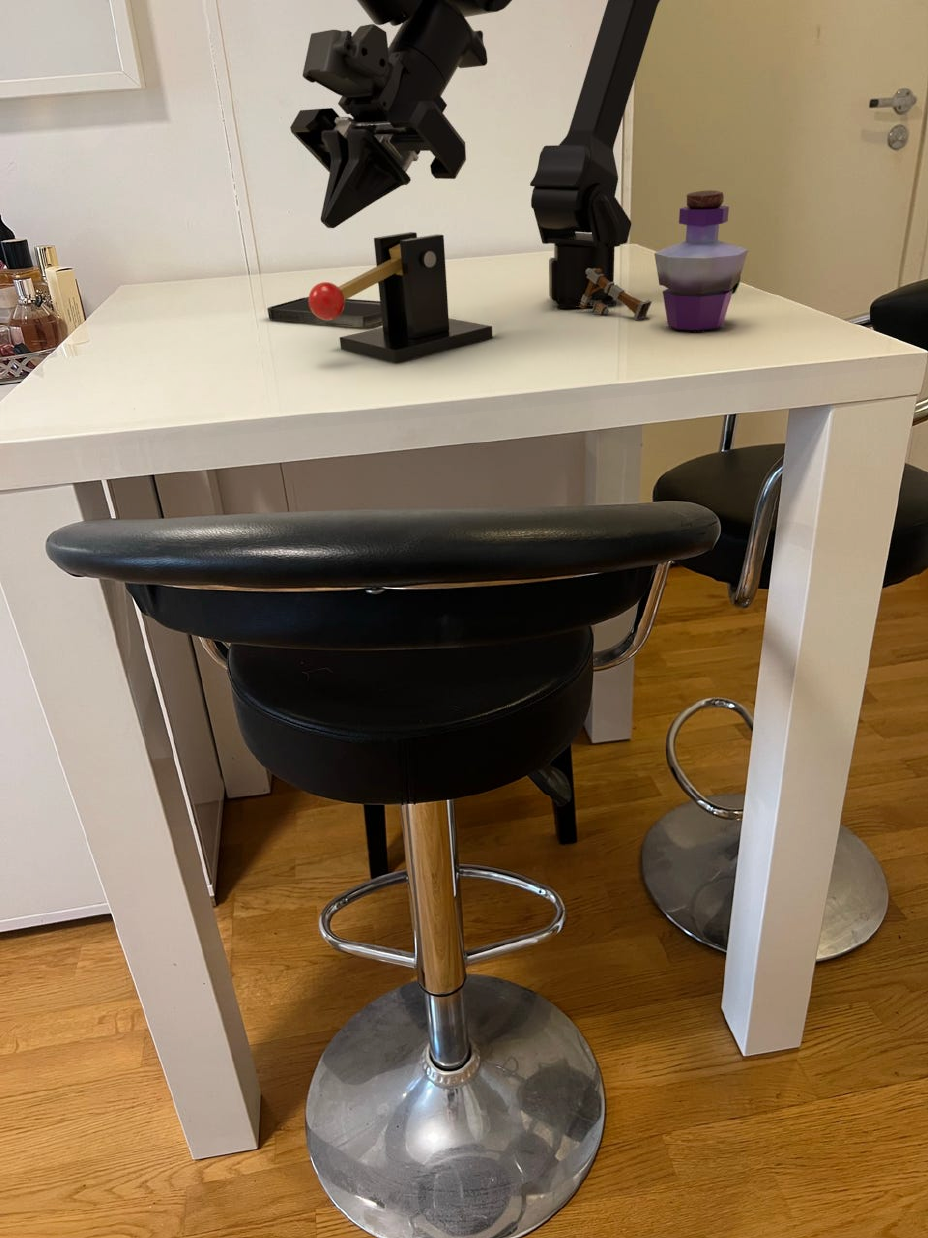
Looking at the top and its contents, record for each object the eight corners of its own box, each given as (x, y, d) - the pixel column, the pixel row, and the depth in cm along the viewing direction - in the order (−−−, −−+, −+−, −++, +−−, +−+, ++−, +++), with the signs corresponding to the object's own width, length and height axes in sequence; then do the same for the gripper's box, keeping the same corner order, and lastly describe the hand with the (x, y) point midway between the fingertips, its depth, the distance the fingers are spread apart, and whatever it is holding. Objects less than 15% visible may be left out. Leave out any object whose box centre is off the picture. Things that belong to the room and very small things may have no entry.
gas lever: (328, 328, 78) (316, 292, 76) (309, 323, 80) (296, 289, 78) (436, 269, 83) (427, 234, 81) (415, 266, 86) (406, 232, 84)
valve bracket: (396, 363, 81) (385, 248, 76) (340, 349, 87) (327, 241, 82) (493, 338, 87) (488, 230, 82) (435, 326, 93) (428, 225, 88)
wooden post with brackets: (579, 300, 96) (594, 261, 93) (635, 338, 94) (652, 299, 90) (569, 303, 95) (584, 263, 92) (626, 342, 93) (643, 302, 89)
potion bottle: (759, 324, 86) (774, 187, 80) (701, 340, 82) (712, 197, 76) (690, 313, 92) (699, 185, 86) (632, 327, 88) (637, 194, 82)
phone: (308, 296, 106) (409, 302, 99) (309, 305, 107) (410, 313, 99) (262, 308, 101) (365, 317, 93) (263, 319, 101) (366, 328, 94)
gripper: (292, 2, 77) (202, 156, 77) (427, -28, 65) (320, 155, 64) (375, 102, 85) (295, 241, 85) (509, 92, 73) (415, 255, 72)
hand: (326, 224), depth 76 cm, fingers closed
